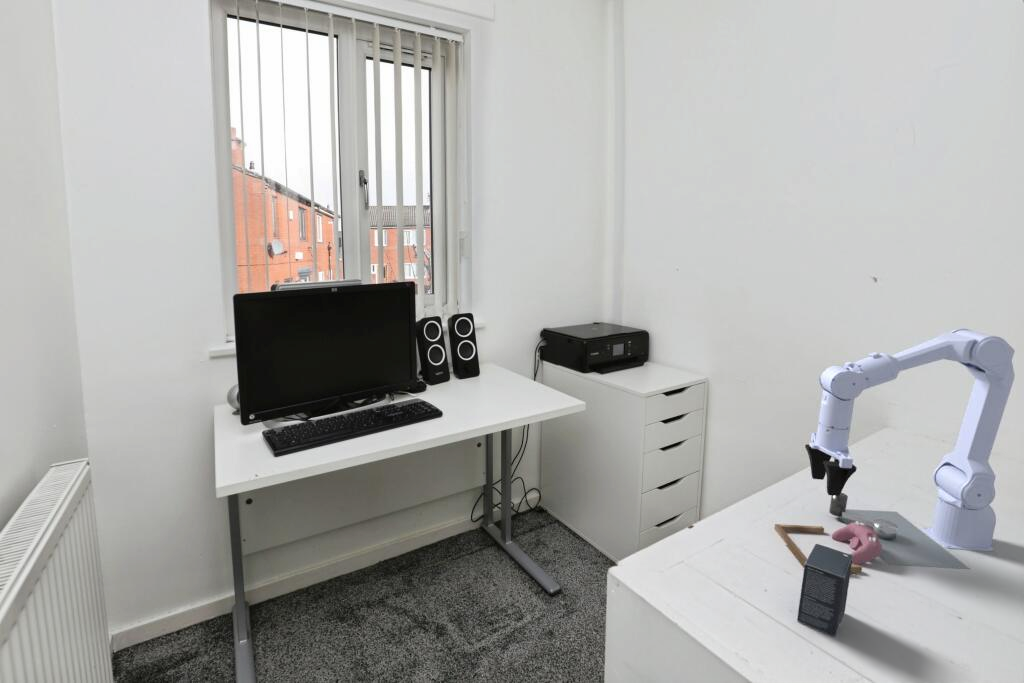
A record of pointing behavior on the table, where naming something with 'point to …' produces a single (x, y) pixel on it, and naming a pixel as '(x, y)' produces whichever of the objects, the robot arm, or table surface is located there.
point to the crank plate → (909, 544)
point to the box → (824, 589)
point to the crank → (862, 518)
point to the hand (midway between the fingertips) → (825, 486)
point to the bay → (794, 549)
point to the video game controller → (860, 541)
